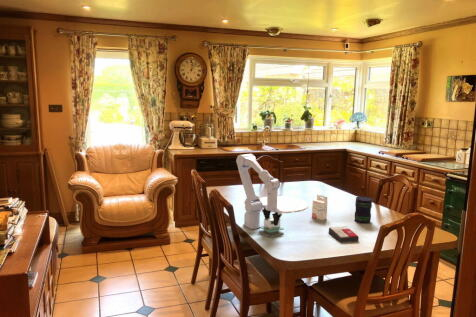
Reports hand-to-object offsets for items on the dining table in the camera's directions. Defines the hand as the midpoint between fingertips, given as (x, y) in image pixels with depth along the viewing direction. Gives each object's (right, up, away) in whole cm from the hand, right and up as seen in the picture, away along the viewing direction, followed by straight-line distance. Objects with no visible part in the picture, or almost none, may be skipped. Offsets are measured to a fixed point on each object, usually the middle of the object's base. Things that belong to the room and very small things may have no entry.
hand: (271, 223), depth 220 cm
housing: (0, -2, +1) cm, 2 cm away
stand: (0, -6, +1) cm, 6 cm away
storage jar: (+60, -3, +25) cm, 65 cm away
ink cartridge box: (+33, -2, +30) cm, 45 cm away
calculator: (+40, -8, -3) cm, 41 cm away
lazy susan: (+11, +3, +60) cm, 62 cm away
